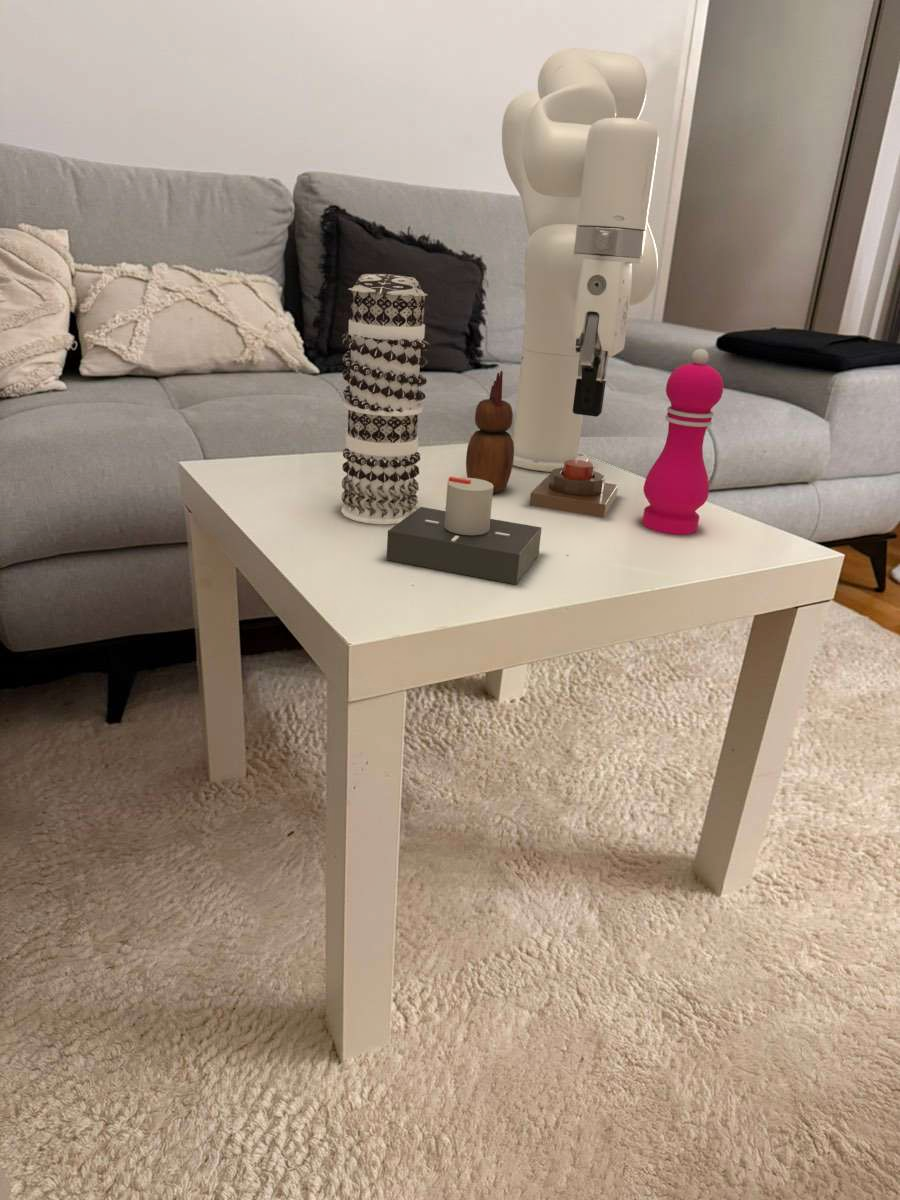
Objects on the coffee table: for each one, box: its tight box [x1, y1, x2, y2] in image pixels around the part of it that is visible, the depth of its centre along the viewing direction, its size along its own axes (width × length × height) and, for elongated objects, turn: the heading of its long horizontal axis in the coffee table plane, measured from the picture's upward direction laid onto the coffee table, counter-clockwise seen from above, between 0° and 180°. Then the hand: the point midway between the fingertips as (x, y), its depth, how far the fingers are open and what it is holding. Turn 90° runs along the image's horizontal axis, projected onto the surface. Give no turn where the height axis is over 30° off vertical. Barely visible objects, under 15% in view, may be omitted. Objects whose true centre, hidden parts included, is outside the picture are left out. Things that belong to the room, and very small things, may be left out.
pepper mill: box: [641, 348, 724, 536], centre depth 95 cm, size 7×7×20 cm
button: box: [563, 460, 595, 479], centre depth 104 cm, size 4×4×2 cm
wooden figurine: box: [465, 370, 514, 494], centre depth 105 cm, size 7×6×15 cm
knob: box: [444, 476, 494, 536], centre depth 82 cm, size 4×4×5 cm
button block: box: [529, 467, 619, 519], centre depth 105 cm, size 10×9×4 cm
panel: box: [386, 506, 542, 585], centre depth 84 cm, size 9×13×3 cm
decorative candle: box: [340, 273, 431, 525], centre depth 91 cm, size 9×9×25 cm
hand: (586, 413), depth 101 cm, fingers closed
